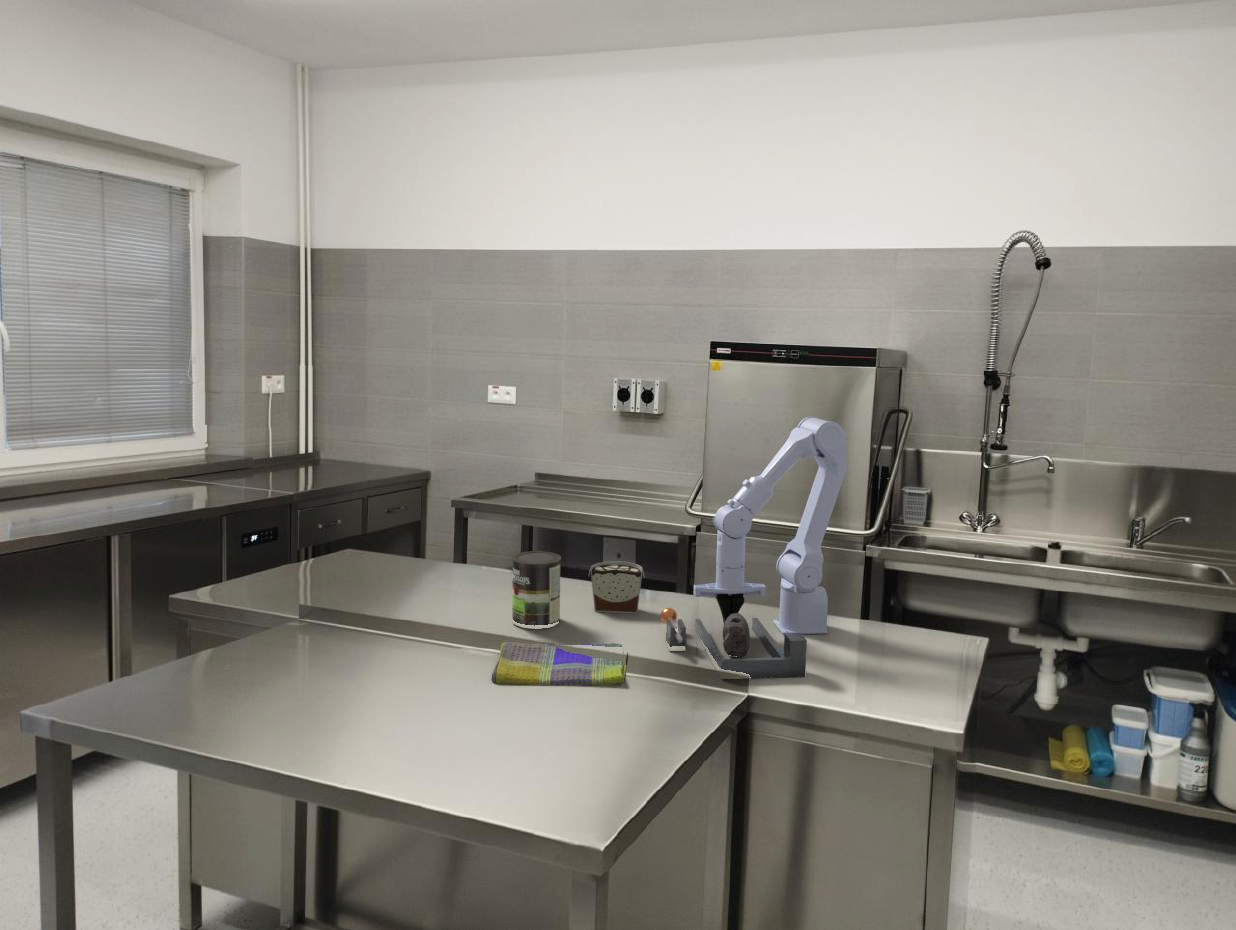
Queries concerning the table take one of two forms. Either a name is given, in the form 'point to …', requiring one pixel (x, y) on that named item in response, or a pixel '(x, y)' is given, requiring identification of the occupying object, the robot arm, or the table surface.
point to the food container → (616, 586)
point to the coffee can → (536, 588)
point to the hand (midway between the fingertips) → (728, 629)
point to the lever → (672, 615)
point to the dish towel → (554, 666)
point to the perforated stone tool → (736, 635)
